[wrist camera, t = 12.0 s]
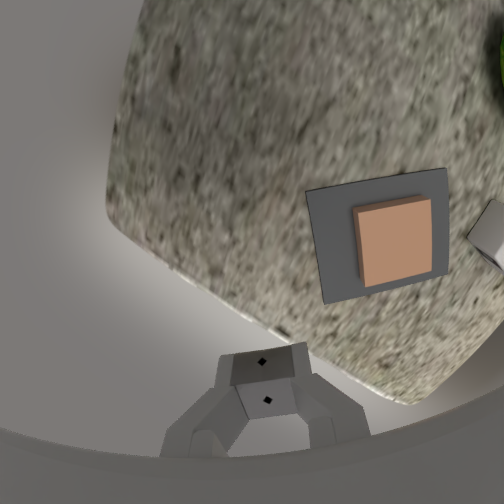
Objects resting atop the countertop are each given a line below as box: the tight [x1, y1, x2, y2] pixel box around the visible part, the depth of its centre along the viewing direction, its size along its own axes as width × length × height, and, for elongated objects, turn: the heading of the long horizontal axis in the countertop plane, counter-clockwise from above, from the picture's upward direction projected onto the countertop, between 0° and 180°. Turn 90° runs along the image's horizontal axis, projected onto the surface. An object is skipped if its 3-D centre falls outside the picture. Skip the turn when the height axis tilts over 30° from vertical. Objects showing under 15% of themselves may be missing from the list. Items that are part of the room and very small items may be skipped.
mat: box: [305, 168, 449, 305], centre depth 39 cm, size 16×20×1 cm
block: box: [352, 195, 432, 287], centre depth 37 cm, size 10×3×10 cm
